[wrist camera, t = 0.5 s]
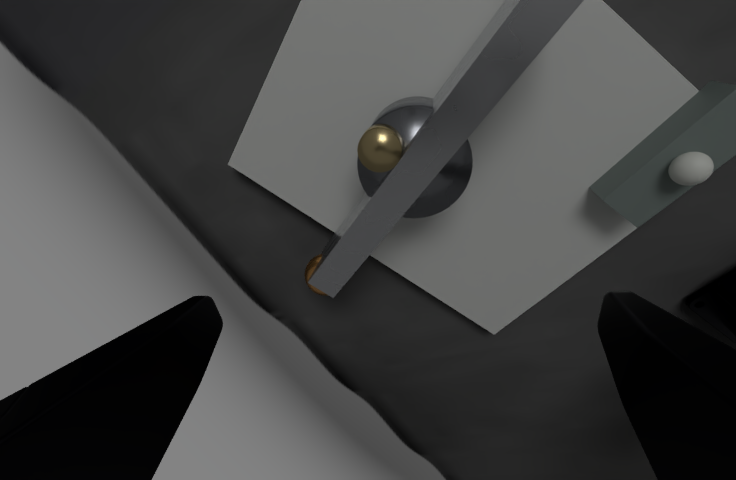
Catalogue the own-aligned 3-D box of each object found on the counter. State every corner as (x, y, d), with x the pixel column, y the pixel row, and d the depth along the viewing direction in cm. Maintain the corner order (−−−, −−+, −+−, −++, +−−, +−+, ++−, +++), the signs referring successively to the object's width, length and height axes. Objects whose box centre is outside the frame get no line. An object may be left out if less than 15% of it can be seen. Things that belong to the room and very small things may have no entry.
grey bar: (585, 26, 14) (631, 25, 11) (356, 288, 23) (345, 329, 20) (490, -61, 13) (509, -89, 10) (289, 246, 22) (265, 283, 19)
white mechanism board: (747, 126, 16) (826, 151, 13) (491, 324, 24) (501, 368, 21) (400, -202, 13) (391, -282, 9) (235, 158, 21) (201, 182, 18)
